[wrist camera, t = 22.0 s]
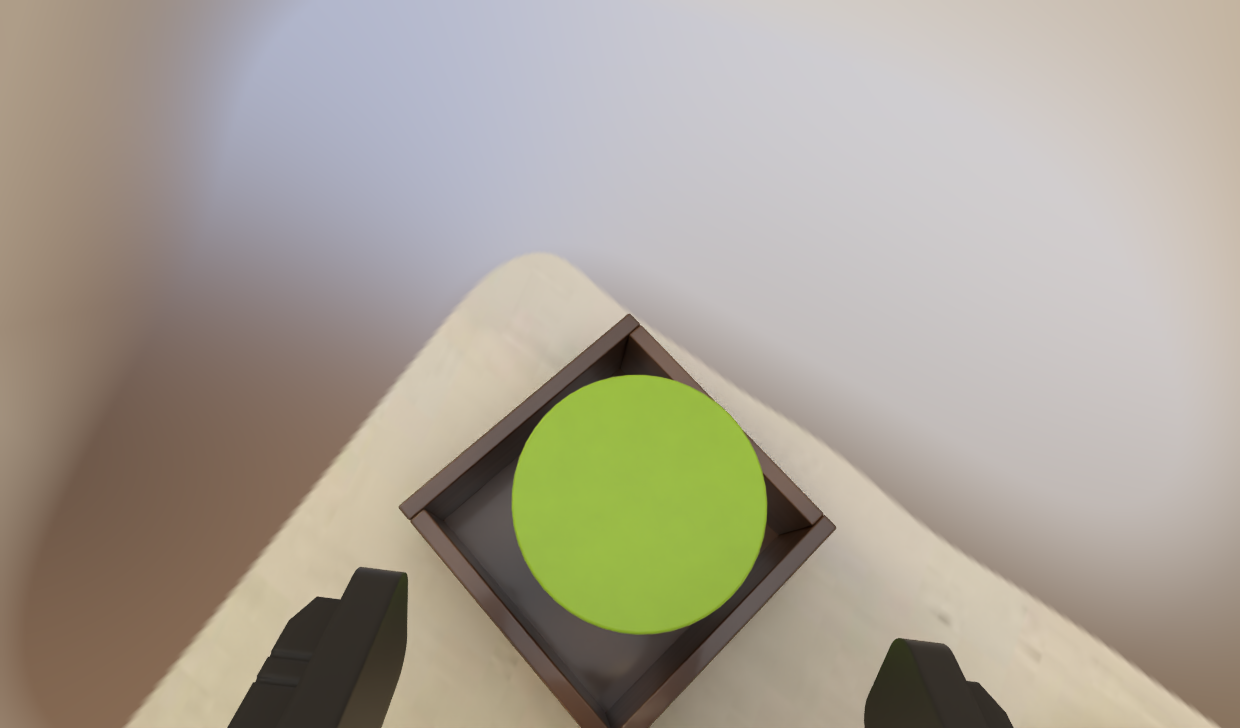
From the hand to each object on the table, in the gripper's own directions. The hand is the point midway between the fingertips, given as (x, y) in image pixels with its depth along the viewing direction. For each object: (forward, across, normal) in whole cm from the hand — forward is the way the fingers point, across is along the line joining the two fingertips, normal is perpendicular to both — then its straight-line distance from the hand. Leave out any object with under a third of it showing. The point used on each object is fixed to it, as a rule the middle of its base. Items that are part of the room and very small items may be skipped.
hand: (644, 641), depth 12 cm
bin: (+13, 0, +9) cm, 16 cm away
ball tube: (+13, 0, +8) cm, 15 cm away
